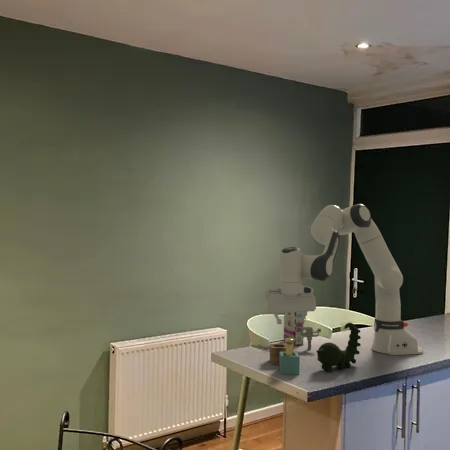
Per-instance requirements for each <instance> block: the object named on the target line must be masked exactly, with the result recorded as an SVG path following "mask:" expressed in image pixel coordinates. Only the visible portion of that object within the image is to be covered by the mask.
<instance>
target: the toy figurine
mask: <svg viewBox="0 0 450 450" xmlns="http://www.w3.org/2000/svg"><path fill="white" fill-rule="evenodd" d="M347 329H350V333H349V335H348V337H349V339H348V341H347V345H346V347H345V349H344V350H343V349H341V348H340V347H339V346H338V345H337V344H336V343H333V342H330V341H329V342H324V343H322V344H321V345H320V346H319V347H318V350H316V351H315V352H316V353H317V361H318V362H320V363H321V370H323V371H324V372H331V370H332V367H338V368H339V369H341V370H342V369H345V368H351V366H352V365H351V364H353V365H354V364H356V363H357V359H355V355H360V351H359V350H358V347H361V346H362V345H361V343H360V342H358V340H360V339H361V335H359V334H360V333H361V331H362V330H361V329H359V328H358V327H357V326H356V324H354V323H352V322H347V323H346V324H345V325H344V330H347Z"/></svg>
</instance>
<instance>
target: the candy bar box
mask: <svg viewBox="0 0 450 450" xmlns="http://www.w3.org/2000/svg"><path fill="white" fill-rule="evenodd" d="M302 316H303V313H302V312H286V313H283V341H284V342H285V338H294V339H295V342H293V346H303V345H304V336H301V335H300V331H298V328H300V327H304V323H300V318H302Z"/></svg>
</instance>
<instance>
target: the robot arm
mask: <svg viewBox="0 0 450 450" xmlns="http://www.w3.org/2000/svg"><path fill="white" fill-rule="evenodd" d="M310 232H311V233H310V234H311V236H312V237H313V239H314V240H315V241H316V242H317V243H319V244H320V245H324V249H323V252H322V253H320V254H316V255H315V254H304V253H302V252H301V249H300V248H299V247H296V246H288V247H285V248H283V249H281V251H280V253H279V260H278V261H279V263H278V269H279V281H278V283H279V284H278V285H279V286H278V287H279V288H274V289H271V288H270V289H268V290H266V291H265V293H264V299H265V303H264V304H265V307H264V310H265V312H266V313H268V314H273V315H274V317H275V319H276V325H282V323H283V322H282V321H283V320H282V319H281V318H279V316H280V314H284V313H286V312H302V313H303V316H302V318H300V323H303V324H304V323H305V319H306V317H307V315H308V312H315V311H316V309H317V300H316V296H315V295H314V294H313V293H314V290H315V289H314V288H313V287H312V286H309V285H306V284H302V283H303V281H302V279H307V280H315V281H320V282H325V281H326V280H328V279H329V278H330V277H331V276H332V274H333V272H334V270H333V268H334V263H335V259H336V256H337V253H338V249H339V246H340V240H341V237H343V236H345V235H348V234H352V233H353V234H354V235H355V238H356V241H357V243H358V245H359V248H360V250H361V252H362V253H363V255H364V258H365V260H366V262H367V265H368V267H370V270H371V271H372V274H373V276H374V295H375V318H374V322H373V328H374V337H373V341H372V345H371V347H370V348H371V350H372V351H375V352H378V353H381V354H382V353H383V354H388V355H391V356H392V355H393V356H400V355H420V354H421V355H422V354H423V353H424V350H423V348H422V347H420V346H419V345H418V344H419V343H418V340H417V338H416V336H415V335H413V334H412V333H411V332H410V331H409V330H407V329H406V328H407V327H408V326H409V323H408V322H406V321H404V320H402V319H401V308H402V307H401V305H402V304H401V295H400V288H401V287H402V285H403V282H404V276H403V274H402V272H401V270H400V268H399V266H398V264H397V262H396V261H395V259H394V257H393V256H392V254H391V251H390V250H389V248H388V246H387V243H386V241H385V239H384V236H383V235H382V233H381V231H380V230H379V228H378V226H377V224H376V223H375V222H374V220H373V218H372V214H371V211H370V210H369V208H368V207H367V206H366V205H364V203H363V204H362V203H357V204H353V205H352V206H348V207H346V208H343V209H342V208H341V207H339V206H338V205H335V204H329V205H326V206H325V207H324V208H323V209H322V210H321V211H320V212H319V213H318V214H317V216H316V217H315V218H314V221H312V224H311V227H310Z"/></svg>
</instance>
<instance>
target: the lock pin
mask: <svg viewBox="0 0 450 450" xmlns="http://www.w3.org/2000/svg"><path fill="white" fill-rule="evenodd" d="M293 342H295V339H294V338H285V341H284V343H285V344H286V356H293V352H294V345H293Z"/></svg>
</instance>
